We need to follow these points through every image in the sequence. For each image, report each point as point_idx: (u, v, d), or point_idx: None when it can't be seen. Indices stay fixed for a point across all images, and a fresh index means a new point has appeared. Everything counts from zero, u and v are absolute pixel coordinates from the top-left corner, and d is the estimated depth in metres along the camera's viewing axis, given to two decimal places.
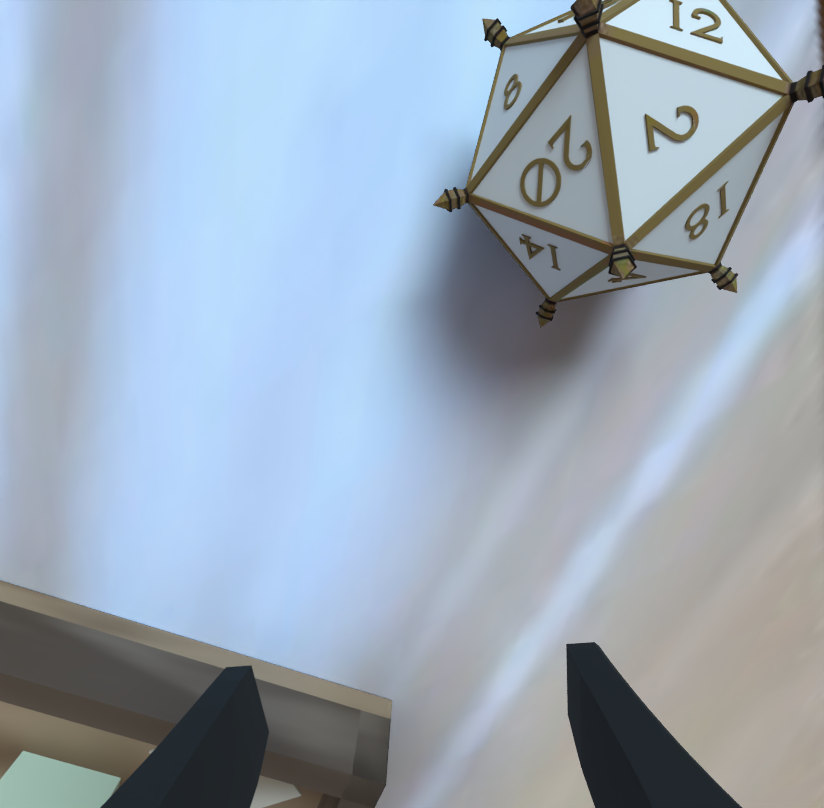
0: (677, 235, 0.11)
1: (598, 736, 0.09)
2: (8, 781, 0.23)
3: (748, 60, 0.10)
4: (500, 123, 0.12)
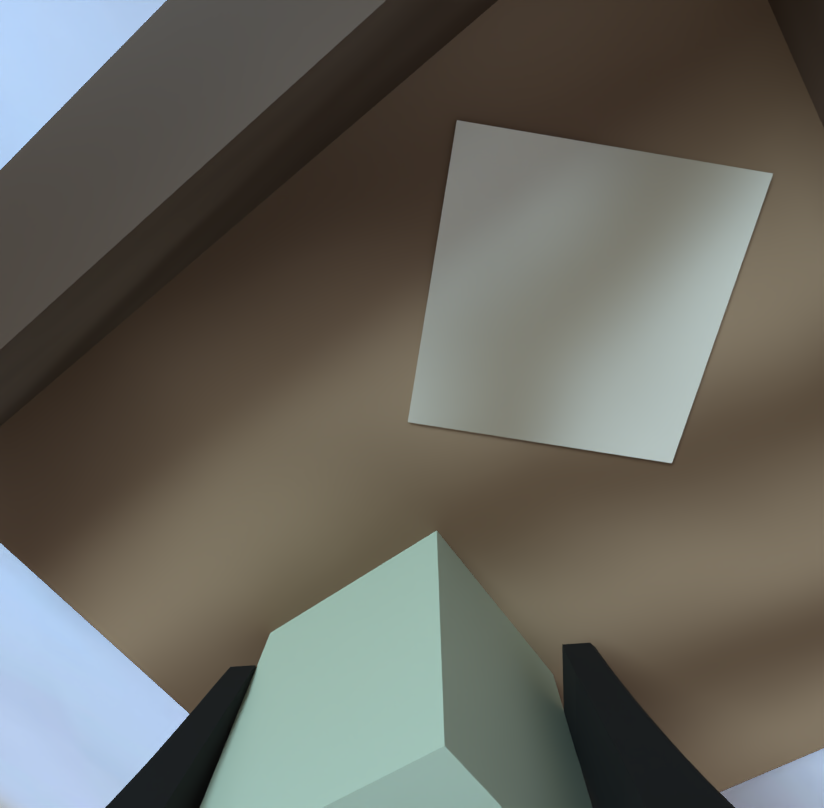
0: None
1: (593, 736, 0.09)
2: (264, 672, 0.11)
3: None
4: None
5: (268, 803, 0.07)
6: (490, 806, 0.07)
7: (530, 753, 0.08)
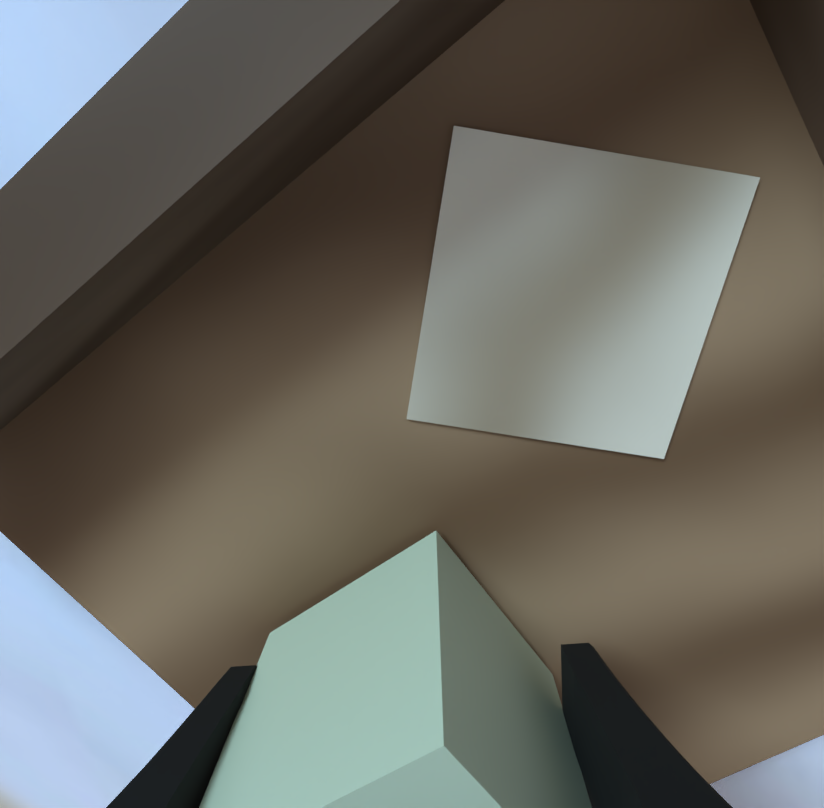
0: None
1: (591, 736, 0.09)
2: (263, 672, 0.11)
3: None
4: None
5: (267, 803, 0.07)
6: (488, 806, 0.07)
7: (529, 753, 0.08)
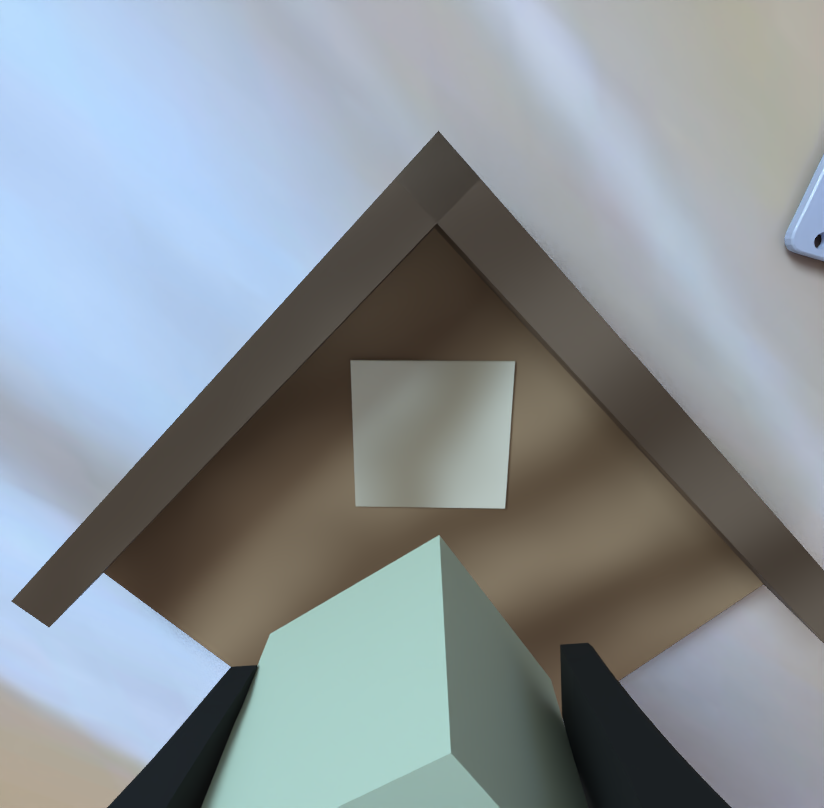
0: None
1: (591, 737, 0.09)
2: (264, 674, 0.11)
3: None
4: None
5: (271, 806, 0.07)
6: None
7: (530, 759, 0.08)
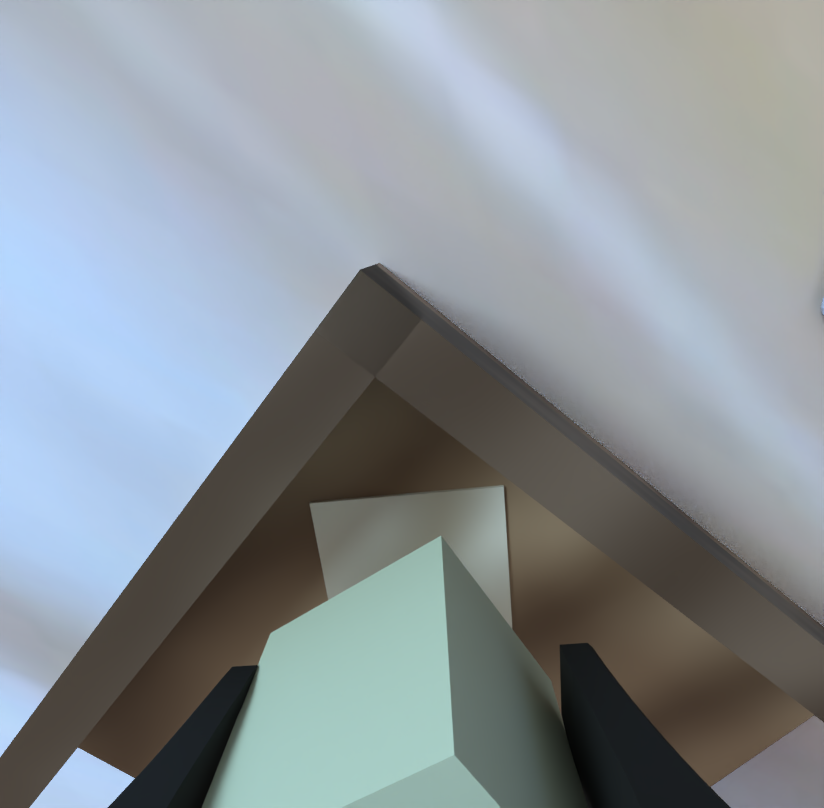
0: None
1: (590, 737, 0.09)
2: (265, 673, 0.11)
3: None
4: None
5: (272, 807, 0.07)
6: None
7: (532, 761, 0.08)
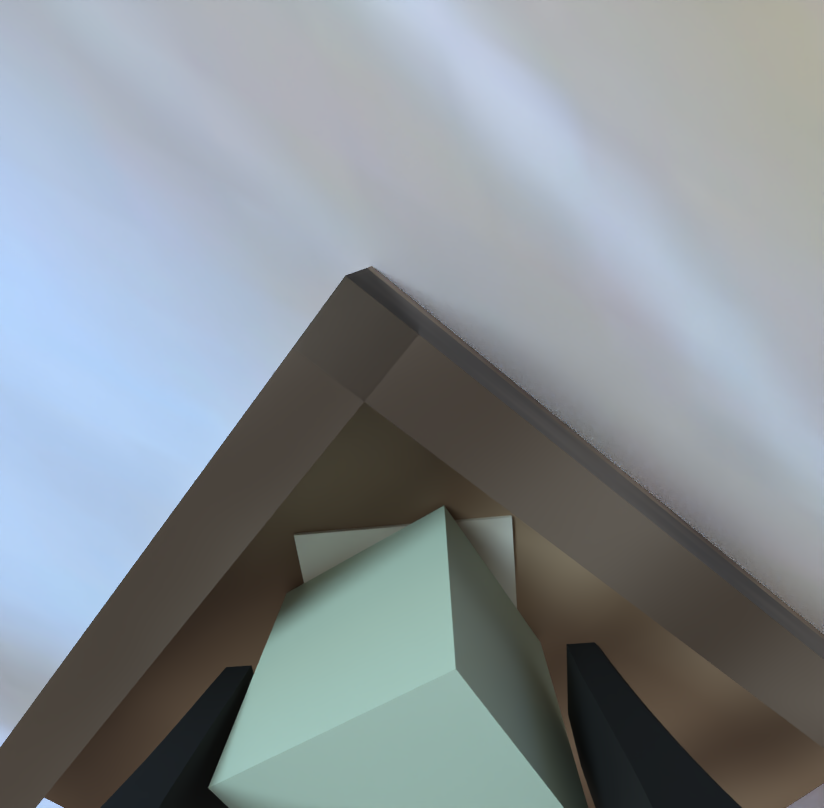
0: None
1: (598, 736, 0.09)
2: (283, 625, 0.12)
3: None
4: None
5: (297, 721, 0.09)
6: (489, 724, 0.08)
7: (521, 695, 0.10)
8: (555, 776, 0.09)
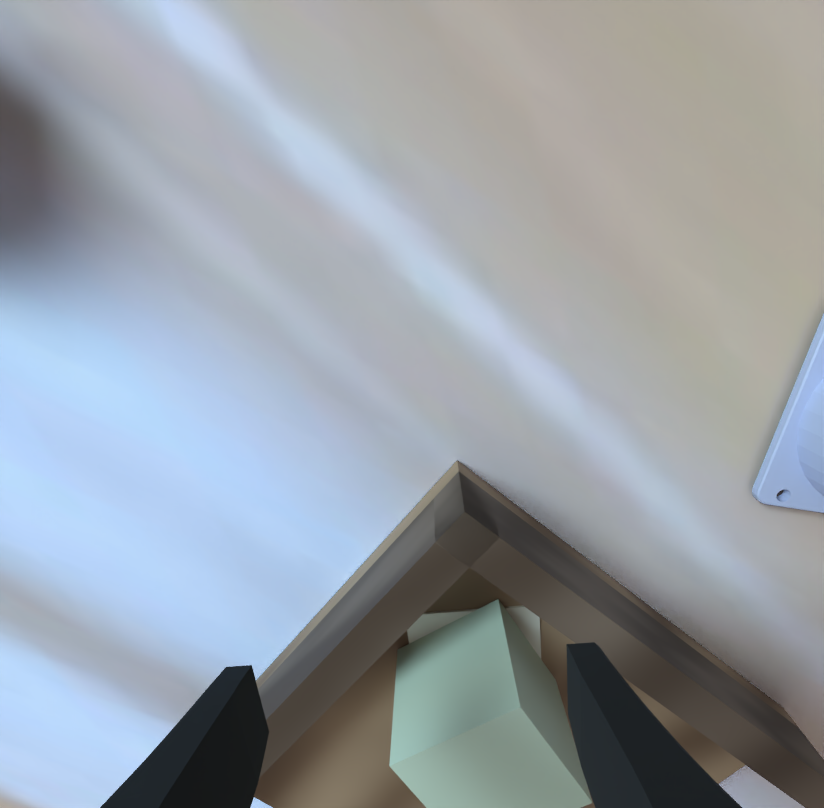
0: None
1: (598, 736, 0.09)
2: (403, 672, 0.20)
3: None
4: None
5: (434, 732, 0.17)
6: (535, 733, 0.16)
7: (548, 716, 0.18)
8: (567, 760, 0.17)
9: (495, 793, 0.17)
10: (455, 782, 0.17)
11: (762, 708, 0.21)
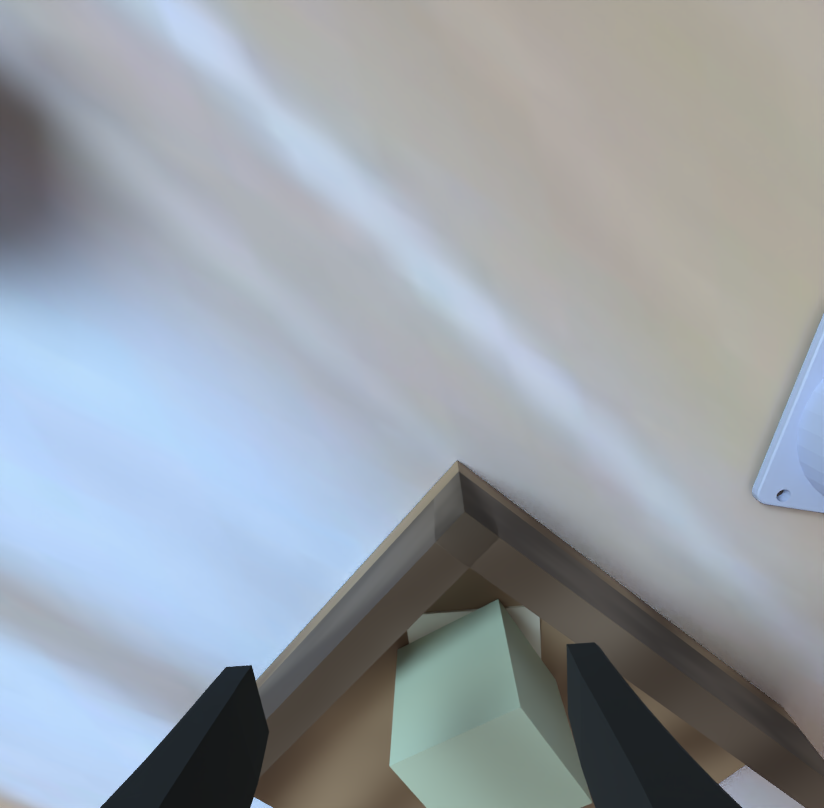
0: None
1: (598, 736, 0.09)
2: (403, 672, 0.20)
3: None
4: None
5: (434, 732, 0.17)
6: (535, 733, 0.16)
7: (548, 716, 0.18)
8: (567, 760, 0.17)
9: (495, 793, 0.17)
10: (455, 782, 0.17)
11: (762, 708, 0.21)
